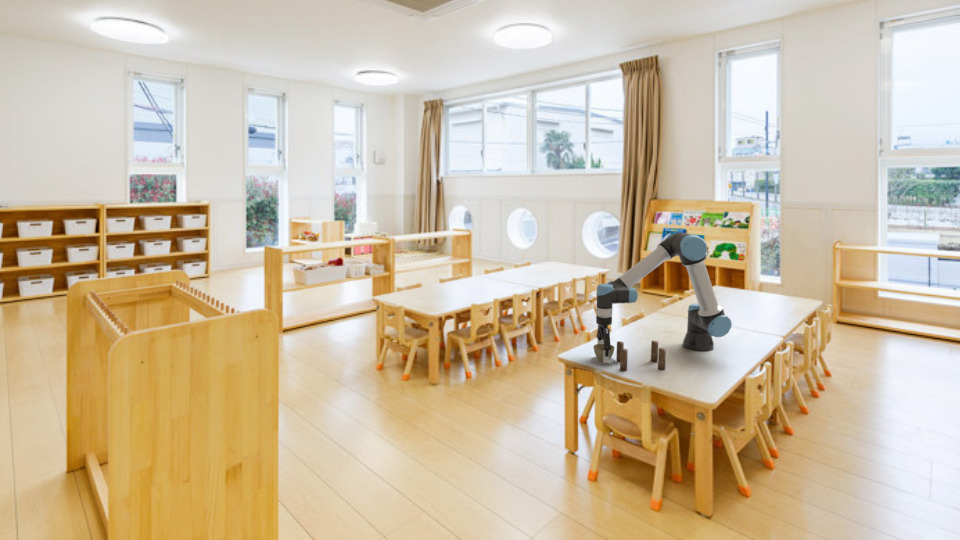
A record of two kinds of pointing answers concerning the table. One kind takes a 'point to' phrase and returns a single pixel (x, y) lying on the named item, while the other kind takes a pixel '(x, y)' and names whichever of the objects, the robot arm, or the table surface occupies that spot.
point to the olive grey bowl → (599, 351)
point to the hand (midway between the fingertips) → (603, 357)
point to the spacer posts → (661, 358)
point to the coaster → (596, 361)
